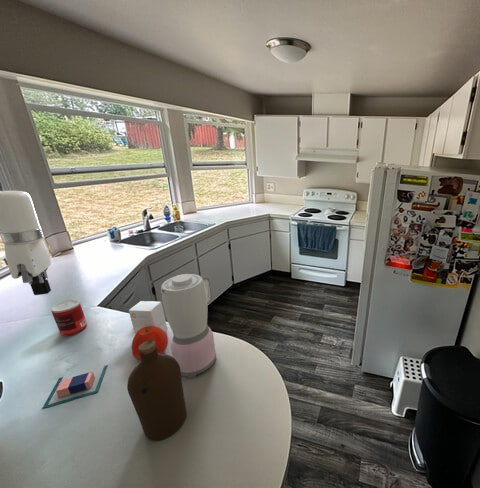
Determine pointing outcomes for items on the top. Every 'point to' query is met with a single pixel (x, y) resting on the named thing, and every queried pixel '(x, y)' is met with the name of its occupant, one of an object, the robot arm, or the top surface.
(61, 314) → the canned food
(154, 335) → the apple
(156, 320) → the small box
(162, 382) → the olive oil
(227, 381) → the top surface
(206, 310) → the blender
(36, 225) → the robot arm
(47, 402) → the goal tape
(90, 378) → the eraser
